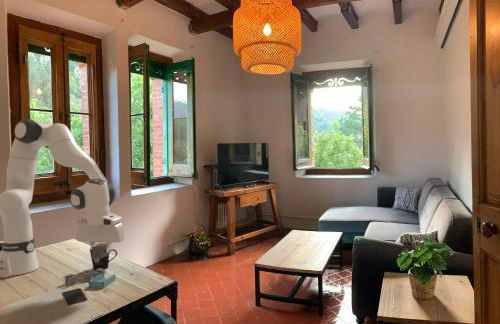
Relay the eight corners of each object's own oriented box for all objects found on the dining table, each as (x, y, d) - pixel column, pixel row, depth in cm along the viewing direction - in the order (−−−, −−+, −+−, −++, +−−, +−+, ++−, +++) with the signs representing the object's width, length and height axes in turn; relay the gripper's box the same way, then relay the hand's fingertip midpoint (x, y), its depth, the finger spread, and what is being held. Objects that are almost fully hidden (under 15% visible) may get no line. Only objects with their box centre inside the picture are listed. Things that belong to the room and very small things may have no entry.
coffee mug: (86, 269, 161) (85, 248, 161) (102, 263, 169) (101, 243, 168) (104, 273, 156) (102, 251, 155) (119, 267, 163) (118, 246, 163)
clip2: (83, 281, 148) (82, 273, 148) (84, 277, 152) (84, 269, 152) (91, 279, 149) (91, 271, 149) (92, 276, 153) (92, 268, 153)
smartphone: (67, 305, 126) (61, 292, 137) (67, 307, 126) (61, 294, 137) (88, 299, 130) (80, 287, 141) (88, 301, 130) (80, 288, 141)
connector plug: (92, 258, 142) (91, 247, 141) (107, 250, 152) (106, 240, 151) (101, 258, 141) (100, 247, 141) (115, 250, 151) (114, 240, 150)
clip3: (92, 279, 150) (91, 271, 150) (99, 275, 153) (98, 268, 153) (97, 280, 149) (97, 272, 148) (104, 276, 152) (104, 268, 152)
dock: (88, 287, 142) (88, 281, 142) (101, 279, 150) (101, 273, 150) (103, 288, 140) (103, 282, 140) (115, 280, 148) (115, 274, 148)
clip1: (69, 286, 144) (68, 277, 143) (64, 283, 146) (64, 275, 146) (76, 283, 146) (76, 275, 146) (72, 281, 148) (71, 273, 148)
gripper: (71, 220, 142) (73, 253, 143) (116, 221, 138) (118, 255, 139) (81, 216, 149) (84, 248, 150) (125, 217, 144) (127, 250, 145)
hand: (101, 251), depth 144 cm, fingers closed on connector plug, 4 cm apart
